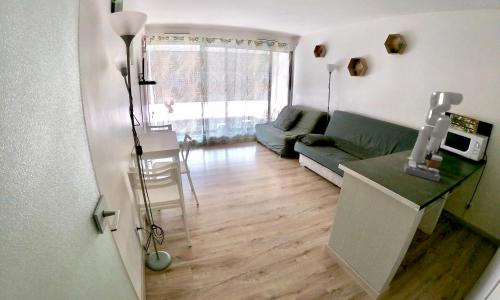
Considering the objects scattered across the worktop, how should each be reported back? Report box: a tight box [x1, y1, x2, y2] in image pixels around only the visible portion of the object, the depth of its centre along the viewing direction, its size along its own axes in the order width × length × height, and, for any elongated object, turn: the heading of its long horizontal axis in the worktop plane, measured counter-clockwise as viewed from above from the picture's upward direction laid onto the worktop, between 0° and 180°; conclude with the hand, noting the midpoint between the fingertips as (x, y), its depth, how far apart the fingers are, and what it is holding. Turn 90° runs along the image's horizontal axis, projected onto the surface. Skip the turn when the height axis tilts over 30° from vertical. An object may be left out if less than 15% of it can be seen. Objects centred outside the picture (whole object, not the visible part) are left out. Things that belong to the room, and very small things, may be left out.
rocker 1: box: [408, 159, 417, 169], centre depth 175 cm, size 9×4×1 cm, turn 150°
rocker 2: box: [417, 164, 428, 169], centre depth 172 cm, size 9×4×1 cm, turn 153°
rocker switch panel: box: [403, 162, 442, 182], centre depth 175 cm, size 18×21×4 cm
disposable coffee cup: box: [425, 154, 443, 170], centre depth 183 cm, size 10×10×12 cm
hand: (427, 159), depth 166 cm, fingers closed
